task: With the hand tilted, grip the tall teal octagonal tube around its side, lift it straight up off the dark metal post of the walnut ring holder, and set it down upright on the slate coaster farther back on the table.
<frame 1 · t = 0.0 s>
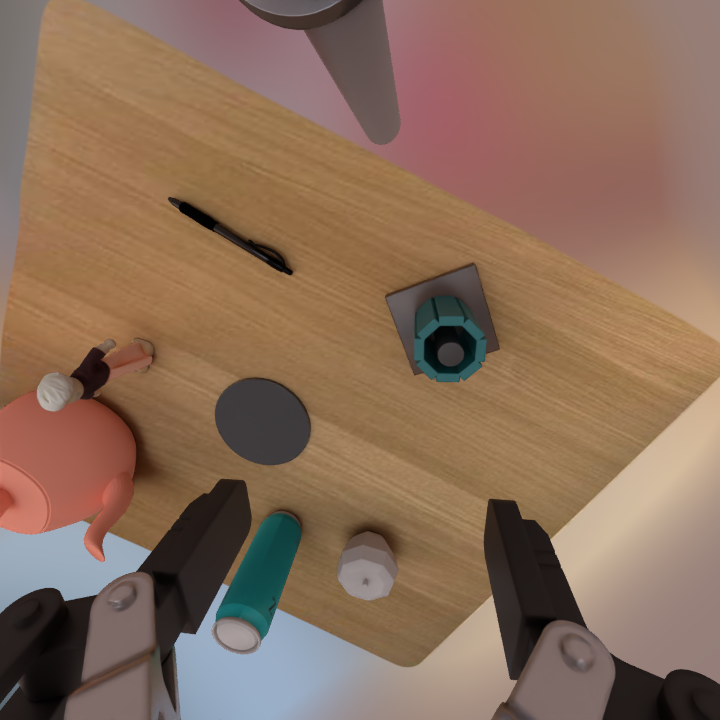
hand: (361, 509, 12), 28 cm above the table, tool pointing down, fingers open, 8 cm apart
teapot: (94, 441, 50), on the table
pen: (235, 233, 37), on the table
slate coaster: (263, 422, 45), on the table
teal octagonal tube: (442, 323, 37), point 1 cm above the table, touching ring holder
ring holder: (442, 320, 38), on the table
grandmother figurine: (143, 351, 44), on the table
beverage can: (285, 522, 51), on the table
apple: (371, 540, 50), on the table
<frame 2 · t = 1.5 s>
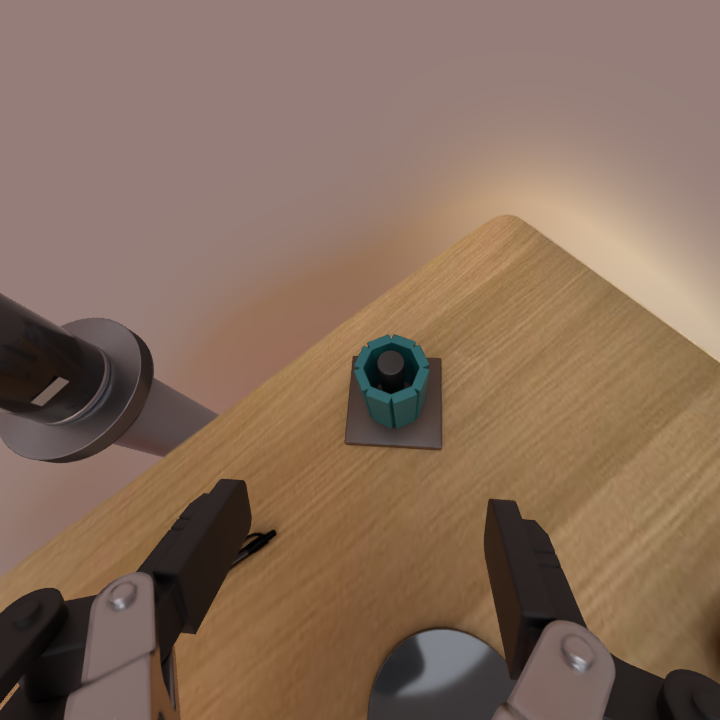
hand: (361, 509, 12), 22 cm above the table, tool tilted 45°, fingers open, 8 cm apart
pen: (208, 576, 32), on the table
teal octagonal tube: (394, 398, 36), point 1 cm above the table, touching ring holder
ring holder: (394, 402, 37), on the table
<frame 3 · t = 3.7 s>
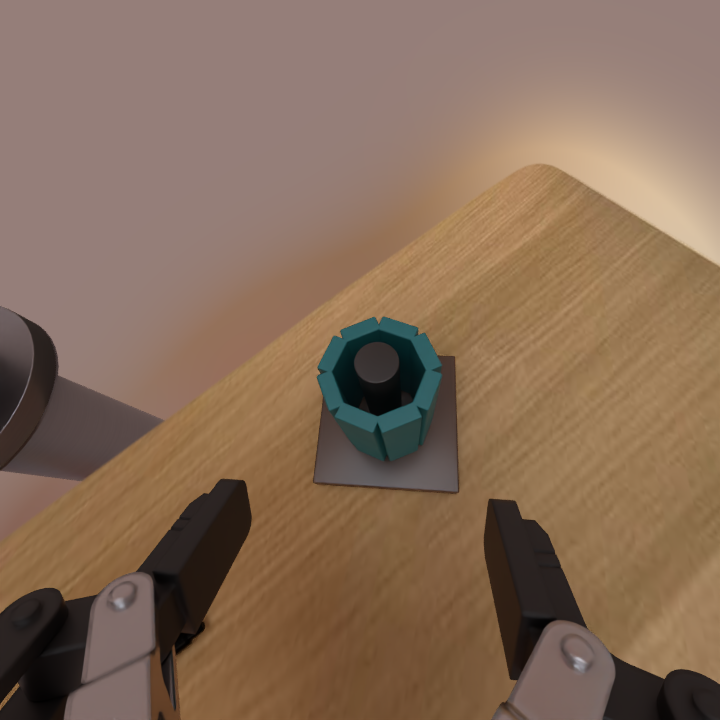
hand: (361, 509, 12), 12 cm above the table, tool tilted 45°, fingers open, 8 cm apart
pen: (99, 695, 21), on the table
teal octagonal tube: (387, 416, 24), point 1 cm above the table, touching ring holder
ring holder: (387, 419, 25), on the table
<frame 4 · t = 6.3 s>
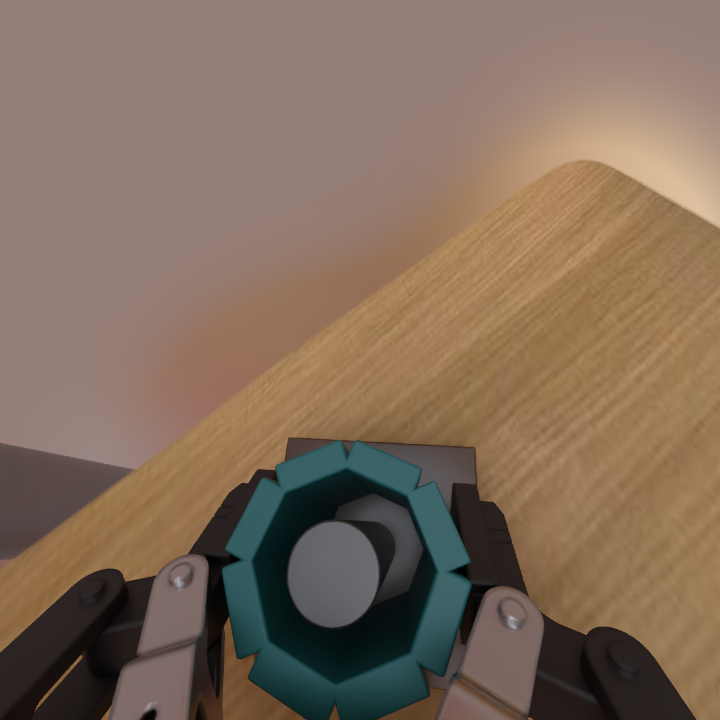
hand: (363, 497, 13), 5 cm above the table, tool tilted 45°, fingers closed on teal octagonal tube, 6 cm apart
teal octagonal tube: (372, 546, 16), point 1 cm above the table, touching gripper, ring holder
ring holder: (374, 545, 17), on the table
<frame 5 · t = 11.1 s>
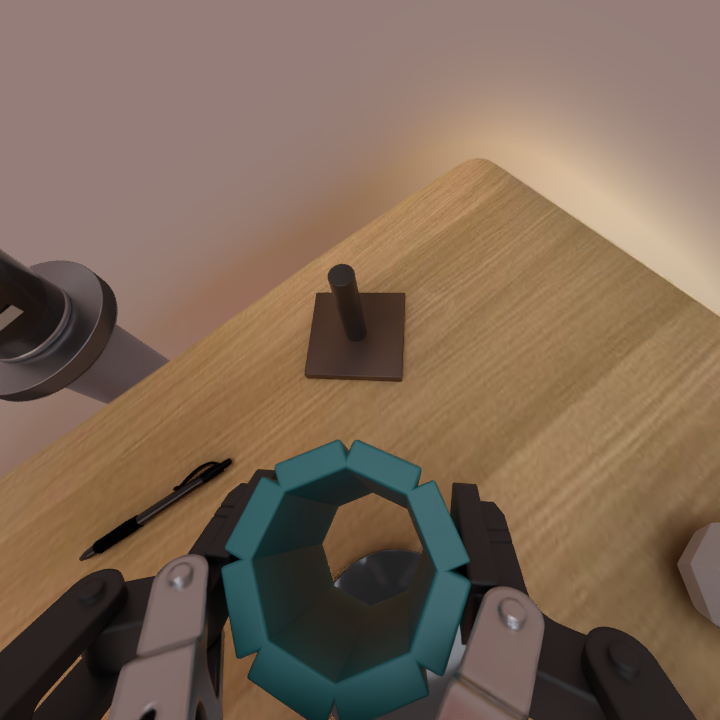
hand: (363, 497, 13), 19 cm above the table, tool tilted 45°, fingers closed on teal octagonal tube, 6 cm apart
pen: (162, 505, 32), on the table
slate coaster: (399, 644, 26), on the table
teal octagonal tube: (372, 546, 16), point 14 cm above the table, touching gripper
ring holder: (357, 336, 36), on the table
apple: (712, 578, 25), on the table
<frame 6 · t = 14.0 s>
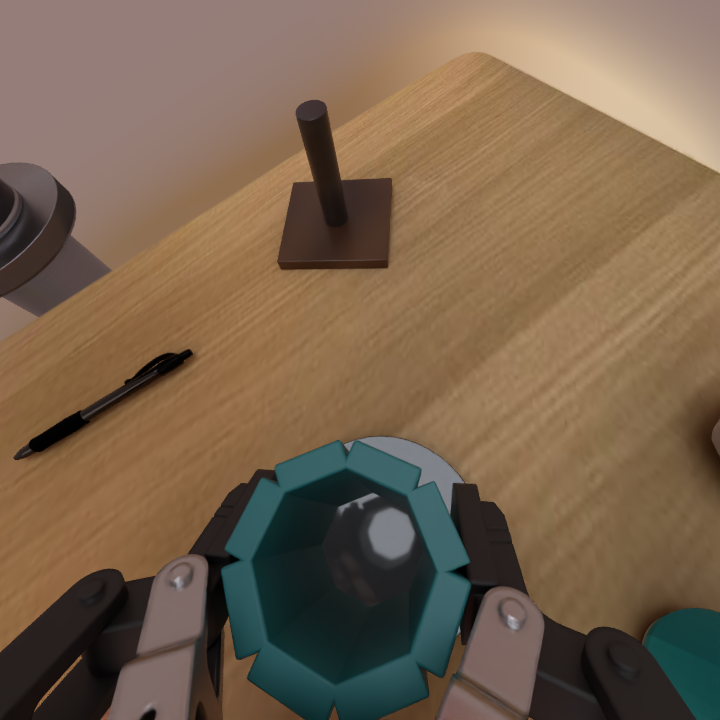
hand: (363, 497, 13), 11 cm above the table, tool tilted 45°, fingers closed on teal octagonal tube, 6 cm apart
pen: (113, 403, 28), on the table
slate coaster: (381, 538, 22), on the table
teal octagonal tube: (372, 546, 16), point 7 cm above the table, touching gripper
ring holder: (338, 226, 32), on the table
beverage can: (689, 669, 18), on the table
when the fingers open (5 cm above the table, at t = 16.3 s): teal octagonal tube stays where it is, resting on slate coaster.
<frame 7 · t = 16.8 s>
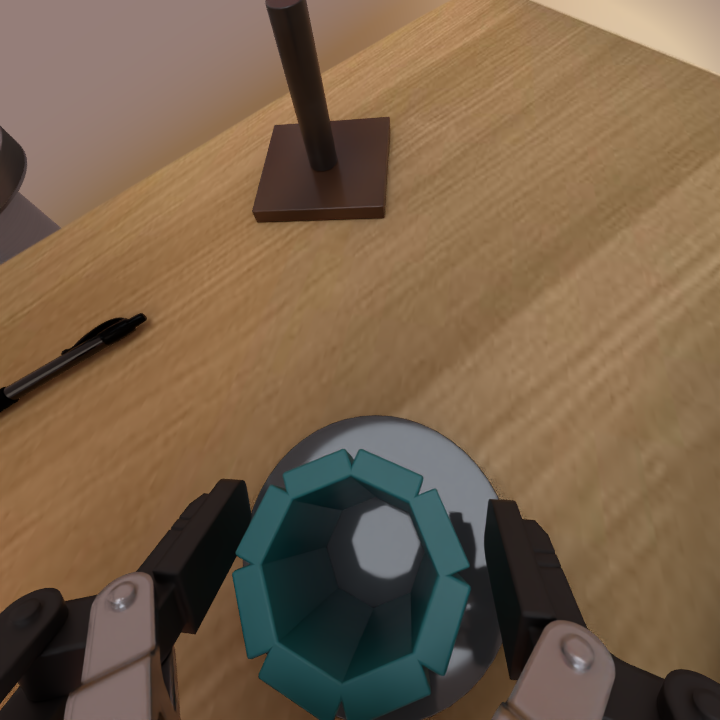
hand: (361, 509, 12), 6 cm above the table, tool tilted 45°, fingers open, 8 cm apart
pen: (48, 379, 23), on the table
slate coaster: (374, 546, 17), on the table
teal octagonal tube: (374, 549, 16), resting on slate coaster
ring holder: (326, 173, 27), on the table
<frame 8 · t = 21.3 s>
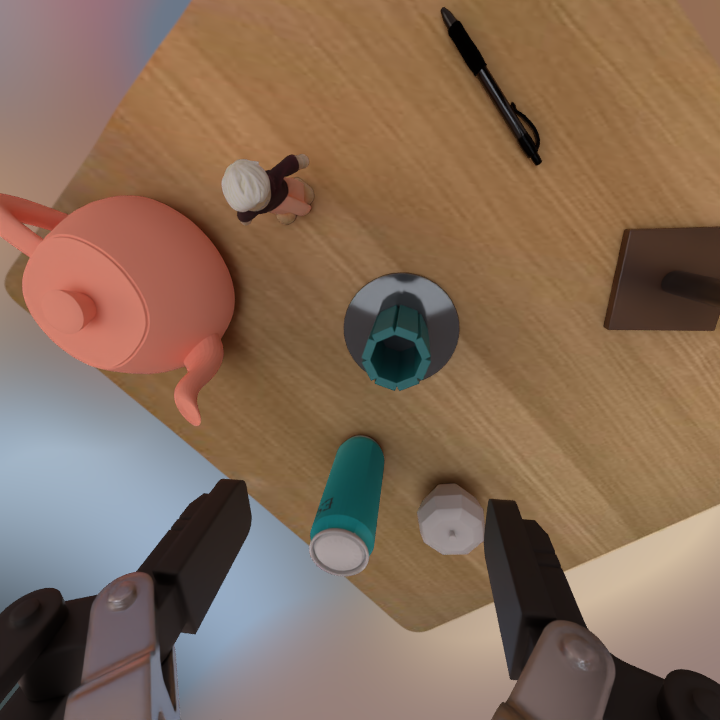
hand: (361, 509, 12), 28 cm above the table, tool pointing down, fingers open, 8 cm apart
teapot: (175, 289, 41), on the table
pen: (494, 90, 30), on the table
slate coaster: (400, 330, 39), on the table
teal octagonal tube: (399, 332, 38), resting on slate coaster
ring holder: (666, 280, 33), on the table
grandmother figurine: (297, 197, 36), on the table
beverage can: (362, 449, 45), on the table
apple: (447, 494, 46), on the table
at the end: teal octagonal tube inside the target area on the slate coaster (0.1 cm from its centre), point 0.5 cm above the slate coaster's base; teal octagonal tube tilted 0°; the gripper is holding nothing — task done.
